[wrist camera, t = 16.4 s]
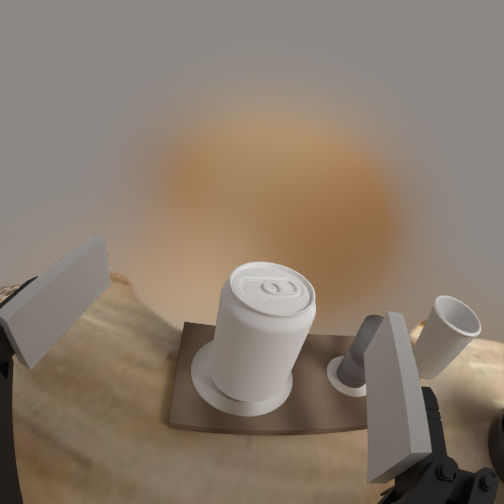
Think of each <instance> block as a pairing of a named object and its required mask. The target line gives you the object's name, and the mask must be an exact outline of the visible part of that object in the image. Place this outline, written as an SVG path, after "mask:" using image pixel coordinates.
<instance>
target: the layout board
mask: <svg viewBox="0 0 504 504" xmlns="http://www.w3.org/2000/svg"><path fill="white" fill-rule="evenodd" d="M383 318H384V317H382V316H379V315H370V316H367V317H366V318H365V320H364V322H363V323H362V325H361V327H360V329H359V331H358V333H357V335H356V336H335V335H314V334H307V336H306V339H305V341H304V343H303V345H302V348H301V350H300V352H299V355H298V357H297V359H296V361H295V363H294V366H293V368H292V370H291V372H290V374H289V376H288V379H287V381H286V383H285V385H284V387H283V389H282V390H281V391H280V392H279V393H278V394H277V395H276V396H274V397H273V398H271V399H269V400H266V401H262V402H253V403H252V402H243V401H239V400H236V399H233V398H231V397H229V396H228V395H226V394H225V393H223V392H222V391H221V390H220V389H219V388H218V387H217V386H216V385H215V383H214V381H213V379H212V377H211V374H210V362H211V355H212V348H213V342H214V335H215V328H216V326H212V325H204V324H197V323H189V322H184V328H183V333H182V339H181V345H180V351H179V357H178V363H177V369H176V376H175V382H174V389H173V396H172V403H171V410H170V418H169V428H176V429H184V430H192V431H201V432H211V433H223V434H240V435H306V434H322V433H335V432H345V431H354V430H362V429H368V421H367V396H366V379H365V365H364V352H365V351H366V349H367V347H368V346H369V344H370V342H371V340H372V339H373V337H374V335H375V333H376V331H377V330H378V328H379V326H380V324H381V322H382V320H383Z"/></svg>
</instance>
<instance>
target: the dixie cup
mask: <svg viewBox="0 0 504 504" xmlns="http://www.w3.org/2000/svg"><path fill="white" fill-rule="evenodd" d="M480 331H481V324H480V321H479V319H478V317H477V316H476V314H475V313H474V312H473V311H472V310H471V309H470V308H469V307H468V306H467V305H465V304H464V303H462V302H461V301H459V300H457V299H455V298H453V297H449V296H438V297H436V298H435V299H434V302H433V307H432V310H431V312H430V314H429V317H428V319H427V321H426V323H425V325H424V327H423V329H422V332H421V334H420V336H419V338H418V340H417V342H416V344H415V346H414V348H413V354H414V358H415V362H416V366H417V370H418V375H419V376H420V377H422V378H424V379H433V378H435V377H436V376H437V375H438V374H439V373H440V372H442V371H443V370H444V369H445V368H446V367H447V366H448V365H449V364H450V363H451V362H452V361H453V360H454V359H455V358H456V357H457V356H458V355H459V353H460V352H461V351H462V350H463V349H464V348H465V347H466V346H467V345H468V344H469V343H470V342H471V341H472V339H473V338H474V337H475V336H477V335H478V334H479V333H480Z"/></svg>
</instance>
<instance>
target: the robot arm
mask: <svg viewBox="0 0 504 504" xmlns="http://www.w3.org/2000/svg"><path fill="white" fill-rule="evenodd" d="M110 285H111V280H110V272H109V264H108V254H107V243H106V238H104V237H101V236H98V235H93V236H92V237H90V238H89V239H87V240H86V241H85V242H83V243H82V244H80V245H79V246H78V247H76V248H75V249H74V250H72V251H71V252H70V253H68V254H67V255H65V257H63V258H62V259H60V260H59V261H58V262H56V263H55V264H54V265H53V266H51V267H50V268H49V269H48V270H46V271H45V272H44V273H42V274H41V275H40V276H37V277H35V278H32V279H30V280H28V281H26V282H25V283H24V284H23V285H22V286H20V288H19V289H17V290H16V291H14V292H13V294H11V295H10V296H9V297H7V298H6V299H5V300H4V301H3V302H2V303H0V504H23V500H22V495H21V490H20V485H19V479H18V473H17V466H16V458H15V449H14V437H13V418H12V384H13V364H14V363H13V359H12V356H13V355H14V354H16V356H17V358H18V360H19V362H20V363H21V364H23V365H24V366H25V367H27V368H28V369H29V370H32V369H33V368H34V367H35V366H36V365H37V363H38V362H39V361H40V360H41V359H42V358H43V356H44V355H45V354H46V353H47V352H48V351H49V350H50V348H51V347H52V346H53V345H54V344H55V343H56V342H57V341H58V340H59V338H60V337H61V336H62V335H63V334H64V333H65V332H66V331H67V330H68V329H69V328H70V326H71V325H72V324H73V323H74V322H75V321H76V320H77V319H78V318H79V317H80V316H81V315H82V314H83V313H84V312H85V311H86V310H87V309H88V307H89V306H90V305H91V304H92V303H93V302H94V301H95V300H96V299H97V298H98V297H99V296H100V295H101V294H102V293H103V292H104V291H105V290H106V289H107V288H108V287H109V286H110ZM364 365H365V379H366V396H367V421H368V475H367V483H387V482H389V481H391V480H392V479H394V478H395V485H394V486H393V487H391V488H389V489H387V490H385V491H384V492H383V493H381V494H380V495H381V496H383V495H385V494H386V495H385V496H384V497H383V498H382V499H381V500H380V501H379V503H378V504H494V501H495V497H496V493H497V488H498V478H497V475H496V473H495V472H494V470H492V469H491V468H487V467H485V468H482V469H480V470H479V471H477V472H476V473H472V472H468V471H464V470H460V469H459V468H458V465H457V463H456V462H455V461H454V460H453V459H452V458H450V457H448V456H447V452H446V446H445V439H444V433H443V428H442V422H441V421H440V419H441V417H440V412H438V410H439V407H438V403H437V398H436V396H435V395H434V393H433V391H432V390H431V388H430V387H423V386H421V384H420V379H419V375H418V370H417V366H416V362H415V358H414V354H413V350H412V346H411V342H410V338H409V335H408V331H407V328H406V324H405V321H404V317H403V314H400V313H396V312H391V311H387V313H386V315H385V317H384V318H383V320H382V322H381V324H380V326H379V328H378V330H377V331H376V333H375V335H374V337H373V339H372V340H371V342H370V344H369V346H368V347H367V349H366V351H365V352H364ZM489 449H490V455H491V459H492V462H493V465H494V467H495V469H496V471H497V473H498V475H499V476H500V478H501V479H502V480H503V481H504V409H503V410H502V411H501V412H500V413H499V414H498V415H497V416H496V417H495V419H494V420H493V422H492V424H491V427H490V432H489Z"/></svg>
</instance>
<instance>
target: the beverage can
mask: <svg viewBox="0 0 504 504" xmlns="http://www.w3.org/2000/svg"><path fill="white" fill-rule="evenodd" d="M315 313H316V304H315V291H314V289H313V287H312V285H311V284H310V282H309V281H308V280H307V279H306V278H305V277H304V276H302V275H301V274H299V273H298V272H296V271H294V270H292V269H290V268H288V267H285V266H282V265H279V264H275V263H269V262H251V263H246V264H243V265H241V266H239V267H237V268H236V269H235V270H234V271H233V272H232V273H231V275H230V278H229V279H228V280H227V281H226V282H225V283H224V285H223V287H222V290H221V295H220V302H219V308H218V315H217V322H216V328H215V335H214V342H213V348H212V355H211V362H210V374H211V377H212V379H213V381H214V383H215V385H216V386H217V387H218V388H219V389H220V390H221V391H222V392H223V393H225V394H226V395H228V396H229V397H231V398H233V399H236V400H239V401H243V402H252V403H253V402H262V401H266V400H269V399H271V398H273V397H274V396H276V395H277V394H278V393H279V392H280V391H281V390H282V389H283V387H284V385H285V383H286V381H287V379H288V376H289V374H290V372H291V370H292V368H293V366H294V363H295V361H296V359H297V357H298V355H299V352H300V350H301V348H302V345H303V343H304V341H305V339H306V336H307V334H308V332H309V329H310V327H311V324H312V322H313V319H314V317H315Z"/></svg>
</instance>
